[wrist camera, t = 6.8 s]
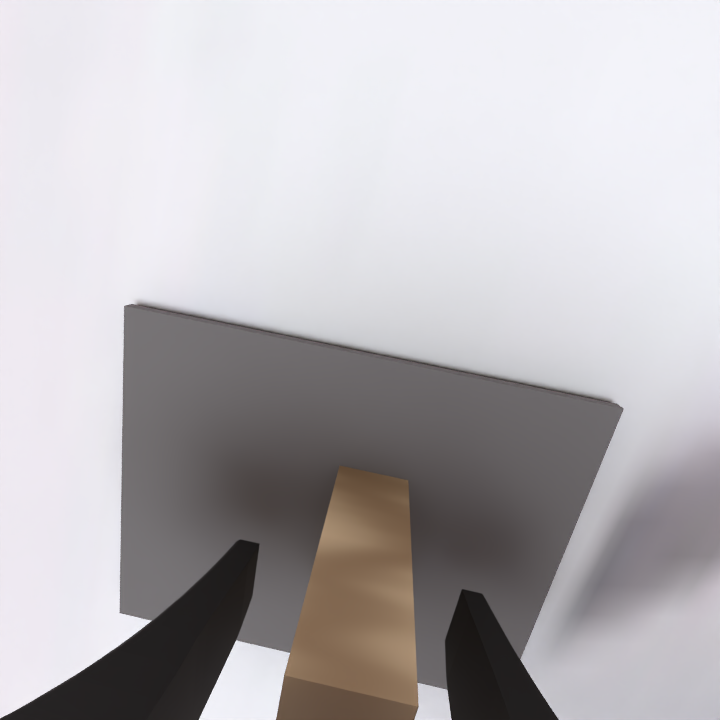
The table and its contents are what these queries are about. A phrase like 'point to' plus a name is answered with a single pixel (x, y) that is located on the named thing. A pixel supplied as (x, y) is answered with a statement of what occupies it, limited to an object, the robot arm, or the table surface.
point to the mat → (320, 467)
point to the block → (357, 610)
